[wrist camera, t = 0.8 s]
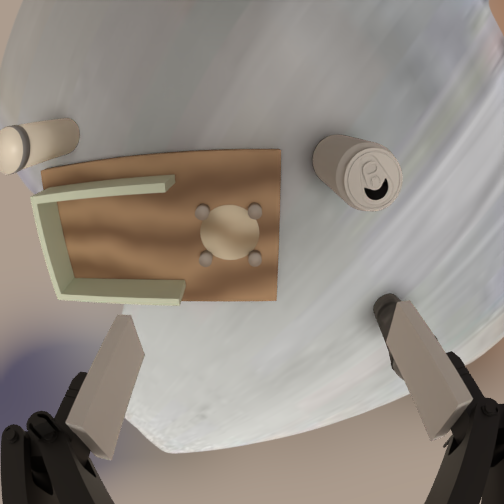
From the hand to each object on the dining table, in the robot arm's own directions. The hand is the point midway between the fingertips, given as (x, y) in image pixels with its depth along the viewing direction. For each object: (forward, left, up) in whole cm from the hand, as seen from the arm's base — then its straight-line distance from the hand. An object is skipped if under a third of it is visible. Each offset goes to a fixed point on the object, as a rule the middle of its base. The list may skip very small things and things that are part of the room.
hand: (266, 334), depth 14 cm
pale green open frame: (+4, -19, -23) cm, 30 cm away
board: (+4, -13, -25) cm, 28 cm away
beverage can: (-5, +10, -25) cm, 27 cm away
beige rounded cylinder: (-10, -25, -25) cm, 37 cm away
